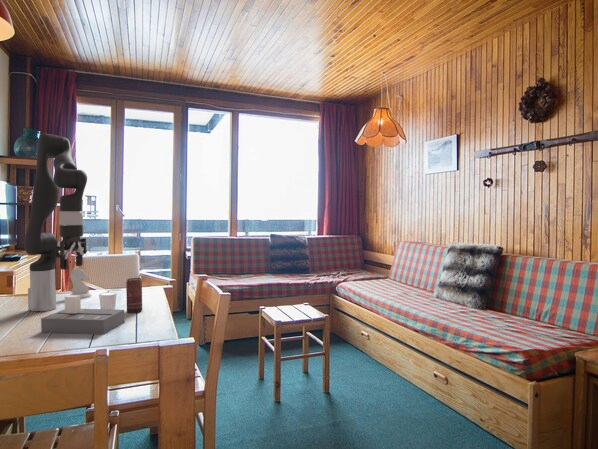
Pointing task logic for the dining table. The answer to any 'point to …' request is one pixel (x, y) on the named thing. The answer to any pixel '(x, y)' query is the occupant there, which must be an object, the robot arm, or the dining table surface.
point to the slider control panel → (83, 321)
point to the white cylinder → (108, 300)
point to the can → (134, 295)
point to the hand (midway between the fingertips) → (71, 267)
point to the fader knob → (72, 304)
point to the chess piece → (80, 283)
